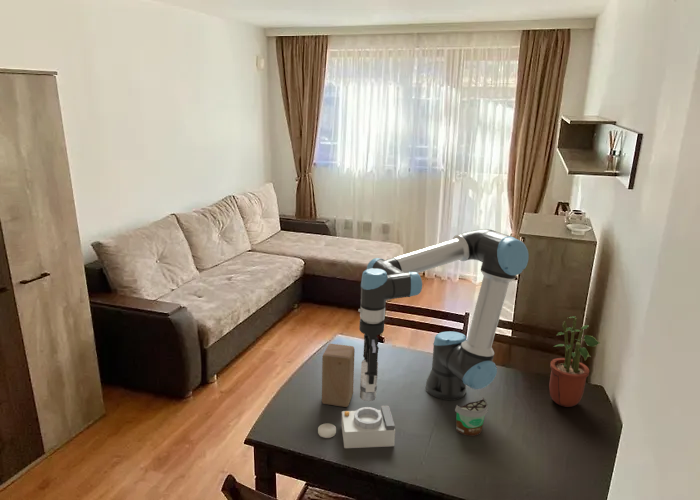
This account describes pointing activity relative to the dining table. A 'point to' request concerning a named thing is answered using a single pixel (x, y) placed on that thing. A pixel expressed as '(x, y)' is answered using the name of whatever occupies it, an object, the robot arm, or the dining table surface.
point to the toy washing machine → (368, 428)
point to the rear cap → (327, 430)
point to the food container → (471, 417)
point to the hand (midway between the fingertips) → (368, 386)
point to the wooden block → (337, 375)
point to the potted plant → (570, 369)
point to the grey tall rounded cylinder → (363, 394)
